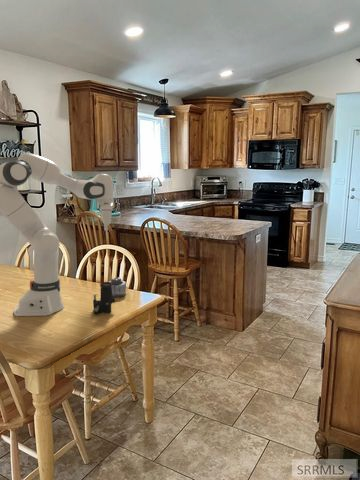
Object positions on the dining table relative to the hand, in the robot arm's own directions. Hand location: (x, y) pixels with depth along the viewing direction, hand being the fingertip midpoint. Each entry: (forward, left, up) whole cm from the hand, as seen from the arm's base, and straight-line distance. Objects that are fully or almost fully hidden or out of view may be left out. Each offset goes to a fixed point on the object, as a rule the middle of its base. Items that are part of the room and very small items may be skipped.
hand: (106, 230), depth 206 cm
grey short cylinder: (+4, -8, -34) cm, 35 cm away
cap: (+4, -8, -30) cm, 32 cm away
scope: (-4, -31, -34) cm, 46 cm away
